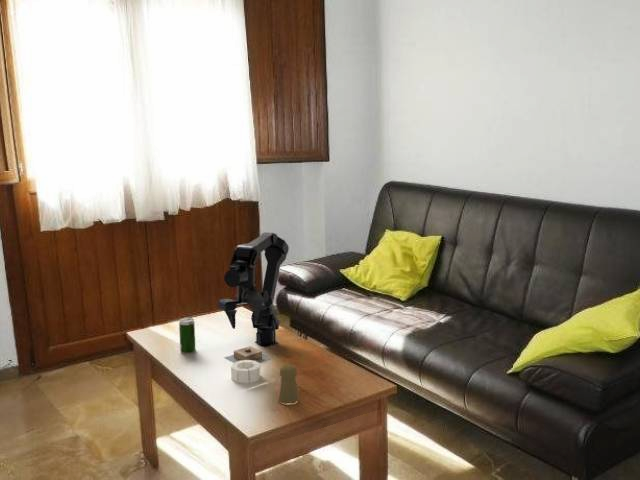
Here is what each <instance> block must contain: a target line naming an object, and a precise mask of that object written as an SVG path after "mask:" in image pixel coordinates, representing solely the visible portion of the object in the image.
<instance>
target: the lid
mask: <svg viewBox="0 0 640 480" xmlns="http://www.w3.org/2000/svg"><path fill="white" fill-rule="evenodd" d="M262 354H263V351H262V350H260V349H258V348H255V347H253V346H251V345H250V346H249V345H248V346H245V347H242V348H239V349H235V350H233V355H234V358H235V359H237V360H239V361H241V360H242V361H243V360H253V361H256V360H259V359H262Z"/></svg>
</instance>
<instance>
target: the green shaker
mask: <svg viewBox="0 0 640 480" xmlns="http://www.w3.org/2000/svg"><path fill="white" fill-rule="evenodd" d="M297 375H298V370H297V367H296V366H295V365H293V364H285V365H282V366H281V367H280V369H279V376H280V378H281V379H280V388H279V396H278V403H279V402H281V403H285V404H286V403H295V402H296V401H298V399H299V400H300V398H299V391H298V386H297V385H298V384H297V380H296V378H297Z"/></svg>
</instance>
